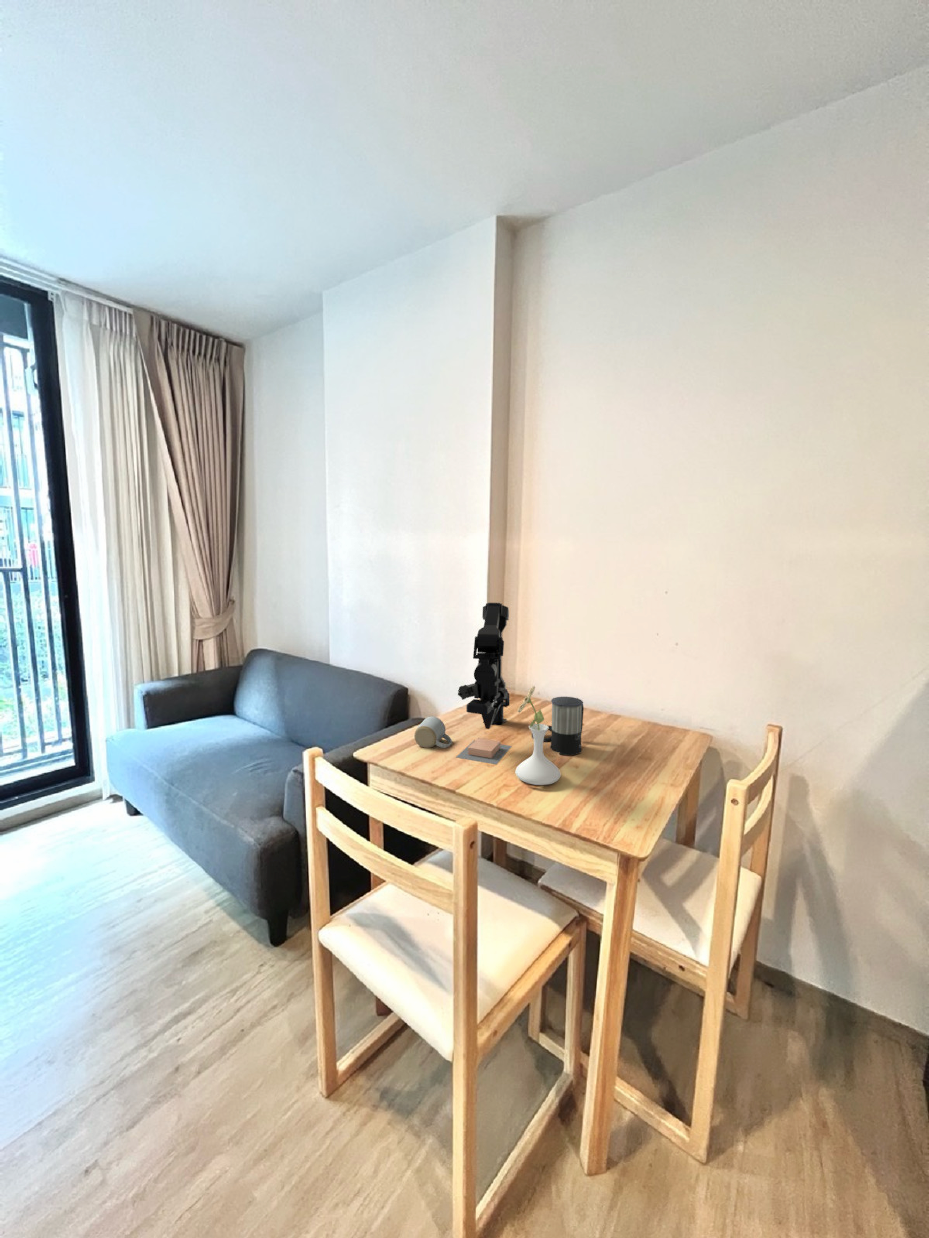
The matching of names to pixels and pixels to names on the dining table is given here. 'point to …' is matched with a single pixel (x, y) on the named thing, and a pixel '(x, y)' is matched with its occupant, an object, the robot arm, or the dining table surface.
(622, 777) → the dining table surface
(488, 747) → the picture frame
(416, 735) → the ceramic mug
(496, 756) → the mat
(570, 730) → the milk frother
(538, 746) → the flower in vase
